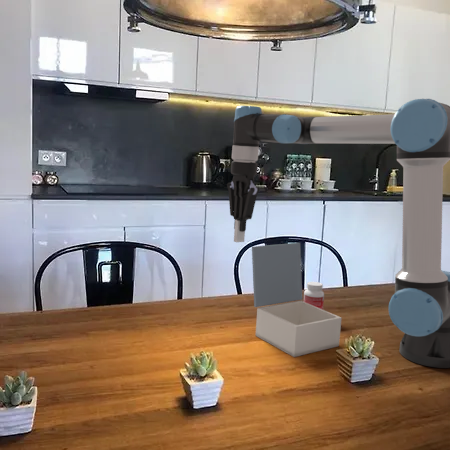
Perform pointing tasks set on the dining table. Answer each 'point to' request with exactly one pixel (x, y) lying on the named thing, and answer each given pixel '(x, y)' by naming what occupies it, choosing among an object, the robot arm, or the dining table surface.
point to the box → (298, 327)
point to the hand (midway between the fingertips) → (238, 241)
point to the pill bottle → (314, 294)
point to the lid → (276, 274)
